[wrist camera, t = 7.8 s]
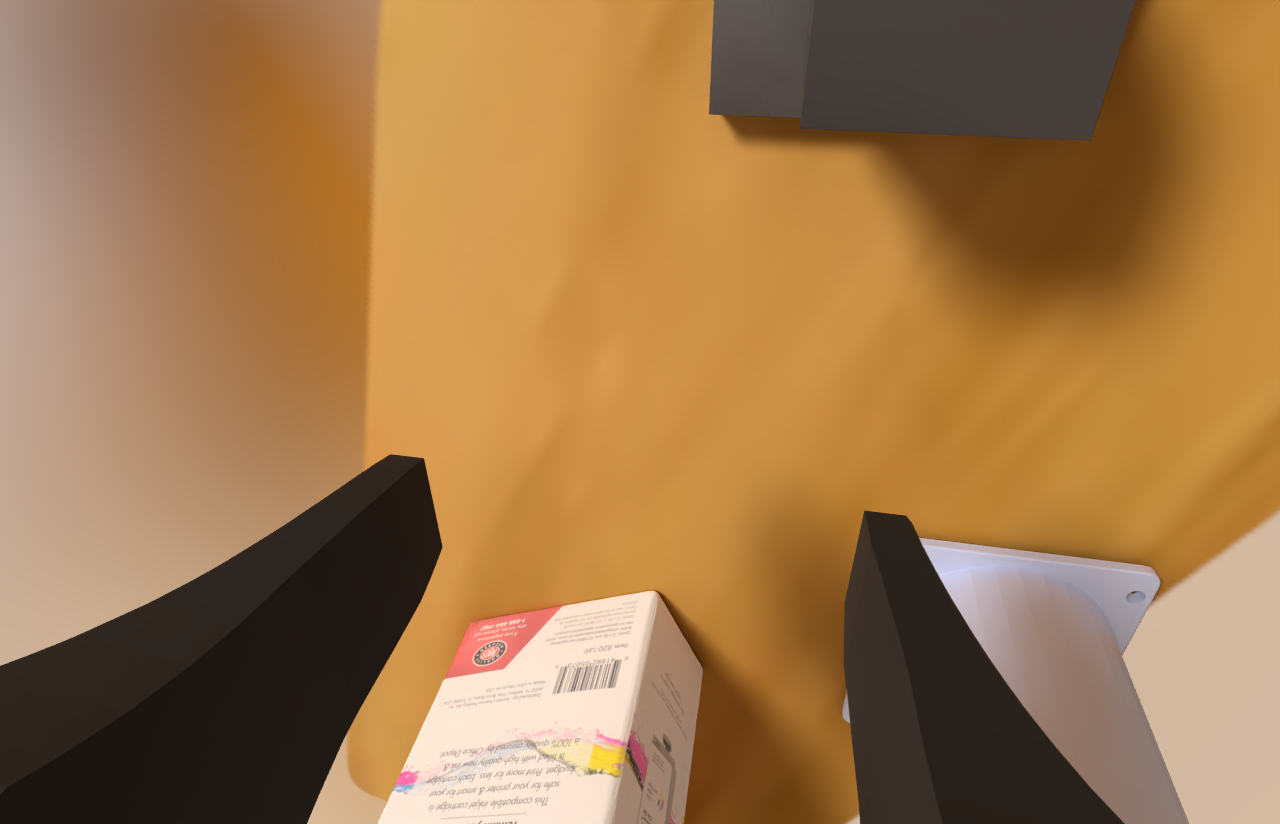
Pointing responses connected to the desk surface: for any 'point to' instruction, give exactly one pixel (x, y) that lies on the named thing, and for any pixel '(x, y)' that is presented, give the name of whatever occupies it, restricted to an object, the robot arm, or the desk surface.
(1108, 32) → the link
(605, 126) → the desk surface
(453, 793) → the ink cartridge box
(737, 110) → the frame
